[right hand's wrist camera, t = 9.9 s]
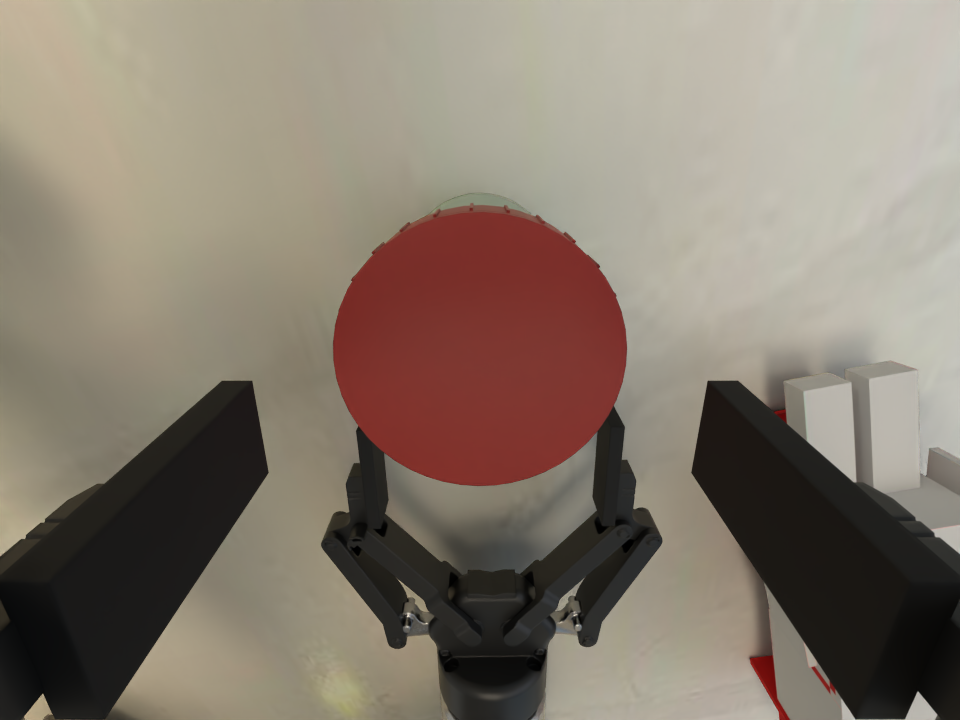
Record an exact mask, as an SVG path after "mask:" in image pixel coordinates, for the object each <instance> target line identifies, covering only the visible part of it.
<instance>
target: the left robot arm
mask: <svg viewBox="0 0 960 720" xmlns="http://www.w3.org/2000/svg"><path fill="white" fill-rule="evenodd" d="M624 430H625V426H624V425H623V423H622V421H621V419H620V417H619V415H618V413H617V411H616V409H615V408H614V406H613V407H612V409H611V411H610V413H609V415H608V417H607V418H606V420H605V421H604V423H603V424H602V426H601V427H600V429H599V430H598V434H597V446H596V459H595V472H594V485H593V500H594V503H595V506H596V509H597V511H596V512H595V513H594V514H593V515H592V516H590V517H589V518H588V519H587V520H586V521H585V522H584V523H583V524H582V525H581V526H579V527H578V528H577V529H576V530H575V531H574V532H573V533H572V534H571V535H570V536H568V537H567V538H566V539H565V540H564V541H563V542H562V543H561V544H560V545H559V546H557V547H556V548H555V549H554V550H553V551H552V552H551V553H550V554H549V555H547V556H546V557H545V558H544V559H543V560H542V561H539V560H535V561H534V562H533V563H532V564H531V565H530V566H529V567H527V568H526V569H525V570H524V571H523V572H522V573H521V574H520V575H519V574H516V573H515V570H499V571H495V572H487V571H482V570H468V574H465V575H462V574H461V573H459V572H458V571H457V570H456V569H455V568H454V567H453V566H451V565H450V564H449V563H448V562H447V561H443V562H440V561H439V560H438V559H437V558H435V557H434V556H433V555H432V554H431V553H430V552H428V551H427V550H426V549H425V548H424V547H423V546H422V545H420V544H419V543H418V542H417V541H416V540H415V539H413V538H412V537H411V536H410V535H409V534H408V533H407V532H405V531H404V530H403V529H402V528H401V527H400V526H398V525H397V524H396V523H395V522H394V521H393V520H392V519H390V518H389V517H388V516H387V515H386V514H385V511H386V507H387V504H388V490H387V480H386V470H385V460H384V452H383V451H381V450H380V449H379V448H378V447H377V446H376V445H375V444H374V443H373V442H372V441H371V440H370V439H369V438H368V437H367V436H366V434H365V433H364V432H363V431H362V430H361V428H360V427H359V426H358V428H357V430H356V433H357V442H358V450H359V458H360V463H354V464H353V467H352V469H351V472H350V474H349V477H348V479H347V482H346V490H347V497H348V504H349V512H348V513H346V512H343V511H339V512H336V513H334V514H333V516H332V518H331V521H330V523H329V525H328V528H327V530H326V533H325V535H324V538H323V540H322V543H321V546H322V548H323V550H324V551H325V552H326V554H327V555H328V556H329V557H330V559H331V560H332V561H333V562H334V564H335V565H336V566H337V567H338V569H339V570H340V571H341V572H342V574H343V575H344V576H345V577H346V579H347V580H348V581H349V582H350V584H351V585H352V586H353V587H354V589H355V590H356V591H357V593H358V594H359V595H360V596H361V598H362V599H363V600H364V601H365V603H366V604H367V605H368V606H369V608H370V609H371V610H372V611H373V613H374V614H375V615H376V616H377V618H378V619H379V620H380V621H381V623H382V624H383V626H384V630H385V634H386V637H387V641H388V644H389V646H391V647H392V648H395V649H400V648H403V647H404V646H405V645H406V641H407V636H418V635H428V634H429V635H430V637H431V638H432V640H433V641H434V642H435V643H436V645H437V653H438V668H439V683H440V700H441V712H442V720H544V716H545V688H546V669H547V648H548V643H549V642H550V640H551V639H552V638H553V636H554V635H555V633H557V634H571V635H578V640H579V643H580V645H582V646H584V647H591V646H593V645H595V644H596V642H597V640H598V636H599V632H600V628H601V624H602V621H603V620H604V619H605V617H606V616H607V615H608V614H609V612H610V611H611V610H612V608H613V607H614V606H615V604H616V603H617V602H618V601H619V599H620V598H621V597H622V595H623V594H624V593H625V591H626V590H627V589H628V587H629V586H630V585H631V584H632V582H633V581H634V580H635V578H636V577H637V576H638V574H639V573H640V572H641V570H642V569H643V568H644V567H645V565H646V564H647V563H648V561H649V560H650V559H651V557H652V556H653V555H654V554H655V552H656V551H657V550H658V548H659V547H660V546H661V544H662V537H661V535H660V533H659V531H658V529H657V527H656V525H655V522H654V520H653V518H652V516H651V514H650V512H649V510H647V509H646V508H637V509H633V505H634V494H635V487H636V479H635V476H634V473H633V471H632V469H631V467H630V465H629V463H628V461H627V460H622V450H623V440H624ZM397 578H398V579H399V580H400V581H401V582H402V583H404V584H405V585H406V586H407V587H409V588H410V589H411V590H412V591H413V592H415V593H416V594H417V595H418V596H419V597H421V598H422V599H423V600H424V601H425V604H426V607H427V609H428V611H429V612H423V611H421V610H420V609H419V608H418V606H417V605H416V604H415V599H414V598H412V597H409V598H407V595H406V592H405V590H404V588H403V587H402V585H401V584H400V582H399V581H398V580H397ZM583 578H585V579H584V580H583V582H582V583H581V585H580V586H579V588H578V591H577V593H576V597H575V596H570V597H569V598H568V603H567V604H566V606H565V607H564V608H563V609H562V610H560V611H555V610H556V608H557V606H558V603H559V600H560V599H561V597H563V596H564V595H565V594H566V593H567V592H568V591H570V590H571V589H572V588H573V587H574V586H575V585H577V584H578V583H579V582H580V581H581V580H582V579H583Z"/></svg>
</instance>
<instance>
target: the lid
mask: <svg viewBox="0 0 960 720" xmlns="http://www.w3.org/2000/svg"><path fill="white" fill-rule="evenodd" d="M575 242H576V241H575V240H574V239H573V238H572V237H571V236H570V235H568V234H567V233H566V232H564V234H563V233H562V232H560V231H559V230H558V229H556V228H555V227H554V226H552V225H550V224H548V223H547V222H545V221H544V220H543V219H542V218H541V217H540V216H539V215H536V217H535V216H532V215H530V214H527V213H524V212H522V211H519V210H514V209H510V208H508V206H507V205H504V207H501V206H490V205H474V204H473V203H470V206H460V207H455V208H450V209H445V210H442V211H441V210H440V209H437V210H436V212H435V213H433V214H430V215H427V216H425V217H423V218H421V219H419V220H417V221H415V222H413V223H411V224H410V222H408V223H407V224H406V225H405V226H404V227H402V228H401V229H400V230H399V232H398V233H396V234H395V235H394V236H393V237H392V238H391V239H390V240H389V241H388V242H386V243H384V242H383V243H382V244H380V245H379V246H378V247H377V248H376V249H375V250H374V251H373V252H372V254H373V255H372V256H371V257H370V258H369V260H368V261H367V262H366V263H365V265H364V266H363V267H362V268H361V269H360V271H359V272H358V273H357V274H356V275H355V276H354V277H353V278H352V280H351V281H352V283H351V284H350V286H349V288H348V289H347V292H346V294H345V296H344V299H343V301H342V303H341V306H340V308H339V313H338V316H337V320H336V324H335V331H334V340H333V359H334V367H335V373H336V378H337V382H338V385H339V388H340V391H341V395H342V397H343V399H344V401H345V403H346V406H347V408H348V410H349V412H350V413H351V415H352V417H353V418H354V420H355V421H356V423H357V424H358V426H359V427H360V428H361V430H362V431H363V432H364V433H365V434H366V436H367V437H368V438H369V439H370V440H371V441H372V442H373V443H374V444H375V445H376V446H377V447H378V448H379V449H380V450H381V451H383V452H384V453H385V454H387V455H388V456H389V457H391V458H392V459H393V460H395V461H396V462H398V463H400V464H402V465H403V466H405V467H407V468H409V469H410V470H412V471H415V472H417V473H419V474H422V475H424V476H426V477H430V478H433V479H436V480H440V481H443V482H448V483H454V484H459V485H472V486H488V485H500V484H506V483H513V482H516V481H520V480H524V479H528V478H530V477H533V476H536V475H538V474H541V473H543V472H546V471H547V470H549V469H551V468H553V467H555V466H557V465H559V464H561V463H562V462H563V461H565V460H566V459H568V458H569V457H571V456H572V455H574V454H575V453H576V452H577V451H578V450H579V449H581V448H582V447H583V446H584V445H585V444H586V443H587V442H588V441H589V440H590V439H591V438H592V437H593V436H594V434H595V433H596V432H597V431H598V430H599V429H600V427H601V426H602V424H603V423H604V421H605V420H606V418H607V417H608V415H609V413H610V411H611V409H612V407H613V406H614V404H615V402H616V400H617V397H618V394H619V391H620V388H621V385H622V382H623V377H624V372H625V367H626V356H627V341H626V329H625V325H624V320H623V316H622V312H621V309H620V306H619V304H618V301H617V299H616V294H615V293H614V292H613V290H612V288H611V286H610V285H609V283H608V281H607V279H606V277H605V276H604V275H603V273H602V272H601V271H600V270H599V267H600V266H599V265H598V264H597V263H596V262H595V261H594V260H593V259H592V258H591V257H590V256H589V255H586V254H585V253H584V252H583V251H582V250H581V249H580V248H579V247H578V246H577V245H576V244H575Z"/></svg>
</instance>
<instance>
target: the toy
mask: <svg viewBox="0 0 960 720" xmlns="http://www.w3.org/2000/svg"><path fill="white" fill-rule="evenodd" d="M784 393H785V405H786V409H784V410H779V411H774V413H775V414H776V415H778V416H779V417H780V418H781V419H782V420H783V421H784V422H786V423H787V424H788V425H789V426H790V427H791V428H792V429H794V430H795V431H796V432H797V433H798V434H799V435H800V436H801V437H803V438H804V439H805V440H806V441H807V442H808V443H809V444H811V445H812V446H813V447H814V448H815V449H816V450H817V451H819V452H820V453H821V454H822V455H823V456H824V457H825V458H827V459H828V460H829V461H830V462H831V463H832V464H833V465H835V466H836V467H837V468H838V469H839V470H840V471H841V472H843V473H844V474H845V475H846V476H847V477H848V478H849V479H851V480H852V481H853V482H864V483H866V484H867V485H869V486H871V487H873V488H875V489H877V490H879V491H880V492H882V493H884V494H886V495H888V496H890V497H891V498H893V499H894V500H896V501H897V502H898V503H899V504H900V505H902V506H903V507H904V508H905V509H906V510H908V511H909V512H910V513H911V514H912V515H914V516H915V517H916V518H915V519H916V521H921V522H922V523H923V524H924V525H926V526H927V527H928V528H929V529H930V530H932V531H933V532H934V533H935V537H940V538H941V539H942V540H944V541H945V542H946V543H947V544H948V545H950V546H951V547H952V548H953V549H954V550H956V551H957V552H958V553H959V554H960V459H959V458H957V457H955V456H953V455H951V454H949V453H948V452H946V451H944V450H942V449H940V448H929V456H928V466H927V475H926V476H924V475H922V474H921V473H920V439H919V384H918V370H917V369H914V368H911V367H908V366H905V365H902V364H899V363H896V362H893V361H886V362H880V363H875V364H870V365H865V366H859V367H854V368H849V369H845V379H843V378H840V377H838V376H836V375H833V374H831V373H829V372H828V373H822V374H817V375H812V376H807V377H801V378H796V379H791V380H785V381H784ZM764 585H765V589H766V594H767V598H768V603H769V608H768V609H769V619H770V629H771V639H772V649H773V655H770V656H763V657H756V658H750V663H751V665H752V667H753V668H754V670H755V672H756V674H757V675H758V677H759V679H760V680H761V682H762V684H763V686H764V687H765V689H766V691H767V692H768V694H769V696H770V698H771V699H772V701H773V703H774V704H775V706H776V708H777V710H778V711H779V719H780V720H935V719H936V717H937V714H936V713H935V711H934V710H933V709H932V708H931V706H930V705H929V704H928V703H927V702H926V700H925V699H924V698H923V697H922V695H921V694H920V693H919V692H917V694H916V696H915V699H914V701H913V703H912V705H911V707H910V710H909V712H908V714H907V716H906V718H905V719H855V718H854V717H853V715H852V714H851V712H850V711H849V709H848V708H847V706H846V705H845V703H844V702H843V700H842V699H841V697H840V696H839V694H838V693H837V691H836V690H835V688H834V686H833V685H832V683H831V682H830V680H829V679H828V677H827V676H826V674H825V673H824V671H823V670H822V668H821V667H820V665H819V664H818V662H817V661H816V659H815V658H814V656H813V655H812V653H811V652H810V650H809V649H808V647H807V646H806V644H805V643H804V641H803V640H802V638H801V637H800V635H799V634H798V632H797V631H796V629H795V628H794V626H793V625H792V623H791V622H790V620H789V619H788V617H787V616H786V614H785V613H784V611H783V610H782V608H781V607H780V605H779V604H778V602H777V601H776V599H775V598H774V596H773V595H772V593H771V592H770V590H769V589H768V587H767V586H766V584H765V583H764Z"/></svg>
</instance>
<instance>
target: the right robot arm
mask: <svg viewBox="0 0 960 720" xmlns="http://www.w3.org/2000/svg"><path fill="white" fill-rule="evenodd" d="M268 473H269V472H268V466H267V461H266V455H265V450H264V444H263V439H262V433H261V427H260V422H259V416H258V411H257V405H256V400H255V394H254V388H253V383H252V381H221V382H220V383H219V384H218V385H217V386H216V387H214V388H213V389H212V390H211V391H210V392H209V393H208V394H206V395H205V396H204V397H203V398H202V399H201V400H200V401H198V402H197V403H196V404H195V405H194V406H193V407H192V408H190V409H189V410H188V411H187V412H186V413H185V414H184V415H182V416H181V417H180V418H179V419H178V420H177V421H176V422H174V423H173V424H172V425H171V426H170V427H169V428H168V429H166V430H165V431H164V432H163V433H162V434H161V435H160V436H159V437H157V438H156V439H155V440H154V441H153V442H152V443H151V444H149V445H148V446H147V447H146V448H145V449H144V450H143V451H141V452H140V453H139V454H138V455H137V456H136V457H135V458H133V459H132V460H131V461H130V462H129V463H128V464H127V465H125V466H124V467H123V468H122V469H121V470H120V471H119V472H117V473H116V474H115V475H114V476H113V477H112V478H111V479H109V480H108V481H107V482H106V483H105V484H96V485H95V486H93V487H91V488H89V489H87V490H85V491H84V492H82V493H80V494H78V495H76V496H74V497H73V498H71V499H69V500H67V501H66V502H65V503H64V504H63V505H61V506H60V507H59V508H58V509H57V510H55V511H54V512H53V513H52V514H51V515H49V516H48V517H47V518H46V519H45V522H44V523H40V524H39V525H37V526H36V527H35V528H34V529H33V530H31V531H30V532H29V533H28V534H27V535H26V538H25V539H21V540H20V541H18V542H17V543H16V544H15V545H14V546H12V547H11V548H10V549H9V550H8V551H6V552H5V553H4V554H3V555H2V556H0V720H25V719H24V716H25V714H26V713H27V712H28V711H29V709H30V708H31V707H32V706H33V705H34V703H35V702H36V701H37V700H38V698H39V697H40V696H41V695H42V693H43V694H44V696H45V699H46V701H47V703H48V705H49V707H50V710H51V712H52V714H53V716H54V718H55V719H105V718H106V717H107V715H108V714H109V712H110V711H111V709H112V708H113V706H114V705H115V703H116V702H117V700H118V699H119V697H120V696H121V694H122V693H123V691H124V690H125V688H126V686H127V685H128V683H129V682H130V680H131V679H132V677H133V676H134V674H135V673H136V671H137V670H138V668H139V667H140V665H141V664H142V662H143V661H144V659H145V658H146V656H147V655H148V653H149V652H150V650H151V649H152V647H153V646H154V644H155V643H156V641H157V640H158V638H159V637H160V635H161V634H162V632H163V631H164V629H165V628H166V626H167V625H168V623H169V622H170V620H171V619H172V617H173V616H174V614H175V613H176V611H177V610H178V608H179V607H180V605H181V604H182V602H183V601H184V599H185V598H186V596H187V595H188V593H189V592H190V590H191V589H192V587H193V586H194V584H195V583H196V581H197V580H198V578H199V577H200V575H201V574H202V572H203V571H204V569H205V568H206V566H207V565H208V563H209V562H210V560H211V559H212V557H213V556H214V554H215V553H216V551H217V550H218V548H219V547H220V545H221V544H222V542H223V541H224V539H225V538H226V536H227V535H228V533H229V532H230V530H231V529H232V527H233V526H234V524H235V523H236V521H237V520H238V518H239V517H240V515H241V514H242V512H243V511H244V509H245V508H246V506H247V505H248V503H249V501H250V500H251V498H252V497H253V495H254V494H255V492H256V491H257V489H258V488H259V486H260V485H261V483H262V482H263V480H264V479H265V477H266V476H267V474H268ZM691 473H692V474H693V476H694V477H695V479H696V480H697V482H698V483H699V485H700V486H701V488H702V489H703V491H704V492H705V494H706V495H707V497H708V498H709V500H710V501H711V503H712V505H713V506H714V508H715V509H716V511H717V512H718V514H719V515H720V517H721V518H722V520H723V521H724V523H725V524H726V526H727V527H728V529H729V530H730V532H731V533H732V535H733V536H734V538H735V539H736V541H737V542H738V544H739V545H740V547H741V548H742V550H743V551H744V553H745V554H746V556H747V557H748V559H749V560H750V562H751V563H752V565H753V566H754V568H755V569H756V571H757V572H758V574H759V575H760V577H761V578H762V580H763V581H764V583H765V584H766V586H767V587H768V589H769V590H770V592H771V593H772V595H773V596H774V598H775V599H776V601H777V602H778V604H779V605H780V607H781V608H782V610H783V611H784V613H785V614H786V616H787V617H788V619H789V620H790V622H791V623H792V625H793V626H794V628H795V629H796V631H797V632H798V634H799V635H800V637H801V638H802V640H803V641H804V643H805V644H806V646H807V647H808V649H809V650H810V652H811V653H812V655H813V656H814V658H815V659H816V661H817V662H818V664H819V665H820V667H821V668H822V670H823V671H824V673H825V674H826V676H827V677H828V679H829V680H830V682H831V683H832V685H833V686H834V688H835V690H836V691H837V693H838V694H839V696H840V697H841V699H842V700H843V702H844V703H845V705H846V706H847V708H848V709H849V711H850V712H851V714H852V715H853V717H854V718H855V719H905V718H906V716H907V714H908V712H909V710H910V707H911V705H912V703H913V701H914V699H915V696H916V694H917V692H919V693H920V694H921V695H922V697H923V698H924V699H925V700H926V702H927V703H928V704H929V705H930V706H931V708H932V709H933V710H934V711H935V713H936V714H937V717H936V719H935V720H960V554H959V553H958V552H957V551H956V550H954V549H953V548H952V547H951V546H950V545H948V544H947V543H946V542H945V541H944V540H942V539H941V538H940V537H935V533H934V532H933V531H932V530H930V529H929V528H928V527H927V526H926V525H924V524H923V523H922V522H921V521H916V519H915V518H916V517H915V516H914V515H912V514H911V513H910V512H909V511H908V510H906V509H905V508H904V507H903V506H902V505H900V504H899V503H898V502H897V501H896V500H894V499H893V498H891V497H890V496H888V495H886V494H884V493H882V492H880V491H879V490H877V489H875V488H873V487H871V486H869V485H867V484H866V483H864V482H853V481H852V480H851V479H849V478H848V477H847V476H846V475H845V474H844V473H843V472H841V471H840V470H839V469H838V468H837V467H836V466H835V465H833V464H832V463H831V462H830V461H829V460H828V459H827V458H825V457H824V456H823V455H822V454H821V453H820V452H819V451H817V450H816V449H815V448H814V447H813V446H812V445H811V444H809V443H808V442H807V441H806V440H805V439H804V438H803V437H801V436H800V435H799V434H798V433H797V432H796V431H795V430H794V429H792V428H791V427H790V426H789V425H788V424H787V423H786V422H784V421H783V420H782V419H781V418H780V417H779V416H778V415H776V414H775V413H774V412H773V411H772V410H771V409H770V408H768V407H767V406H766V405H765V404H764V403H763V402H762V401H760V400H759V399H758V398H757V397H756V396H755V395H754V394H752V393H751V392H750V391H749V390H748V389H747V388H746V387H744V386H743V385H742V384H741V383H740V382H739V381H708V383H707V388H706V394H705V400H704V405H703V411H702V416H701V422H700V427H699V433H698V439H697V444H696V450H695V455H694V461H693V466H692V472H691Z"/></svg>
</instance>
